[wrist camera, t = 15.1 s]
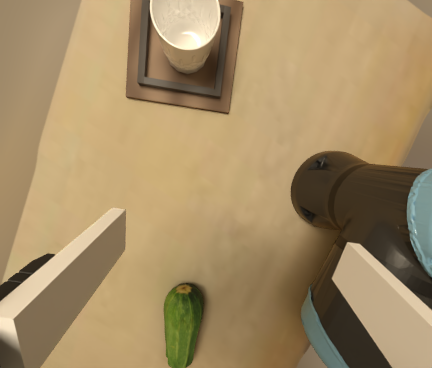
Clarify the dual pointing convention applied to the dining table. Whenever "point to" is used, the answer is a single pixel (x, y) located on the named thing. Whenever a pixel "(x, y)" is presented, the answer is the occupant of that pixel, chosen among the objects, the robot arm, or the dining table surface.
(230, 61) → the dock board
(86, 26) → the dining table surface
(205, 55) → the white cup
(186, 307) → the vegetable
